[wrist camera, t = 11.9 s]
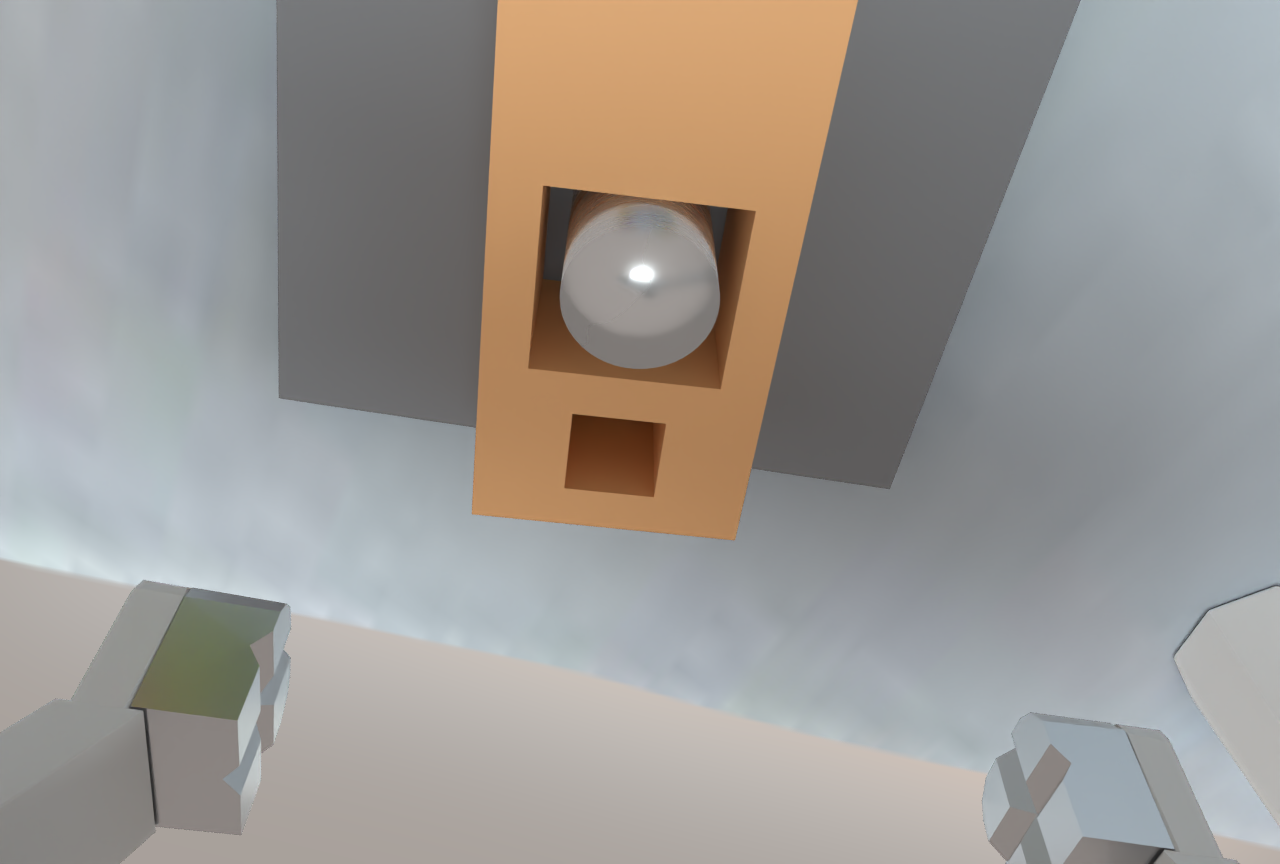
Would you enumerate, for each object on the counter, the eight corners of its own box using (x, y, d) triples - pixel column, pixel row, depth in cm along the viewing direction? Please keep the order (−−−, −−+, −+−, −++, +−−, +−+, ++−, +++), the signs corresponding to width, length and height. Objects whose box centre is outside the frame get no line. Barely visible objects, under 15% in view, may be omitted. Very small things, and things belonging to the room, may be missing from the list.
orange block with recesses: (522, -96, 22) (500, -51, 18) (826, -55, 22) (858, -3, 19) (491, 414, 28) (472, 514, 25) (724, 439, 29) (734, 540, 26)
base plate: (1082, -84, 23) (1107, -69, 22) (879, 455, 31) (889, 489, 30) (296, -245, 21) (275, -238, 20) (294, 366, 29) (278, 398, 28)
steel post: (717, 118, 26) (736, 241, 20) (690, 237, 27) (701, 379, 22) (587, 95, 25) (572, 213, 20) (568, 217, 27) (549, 355, 22)
